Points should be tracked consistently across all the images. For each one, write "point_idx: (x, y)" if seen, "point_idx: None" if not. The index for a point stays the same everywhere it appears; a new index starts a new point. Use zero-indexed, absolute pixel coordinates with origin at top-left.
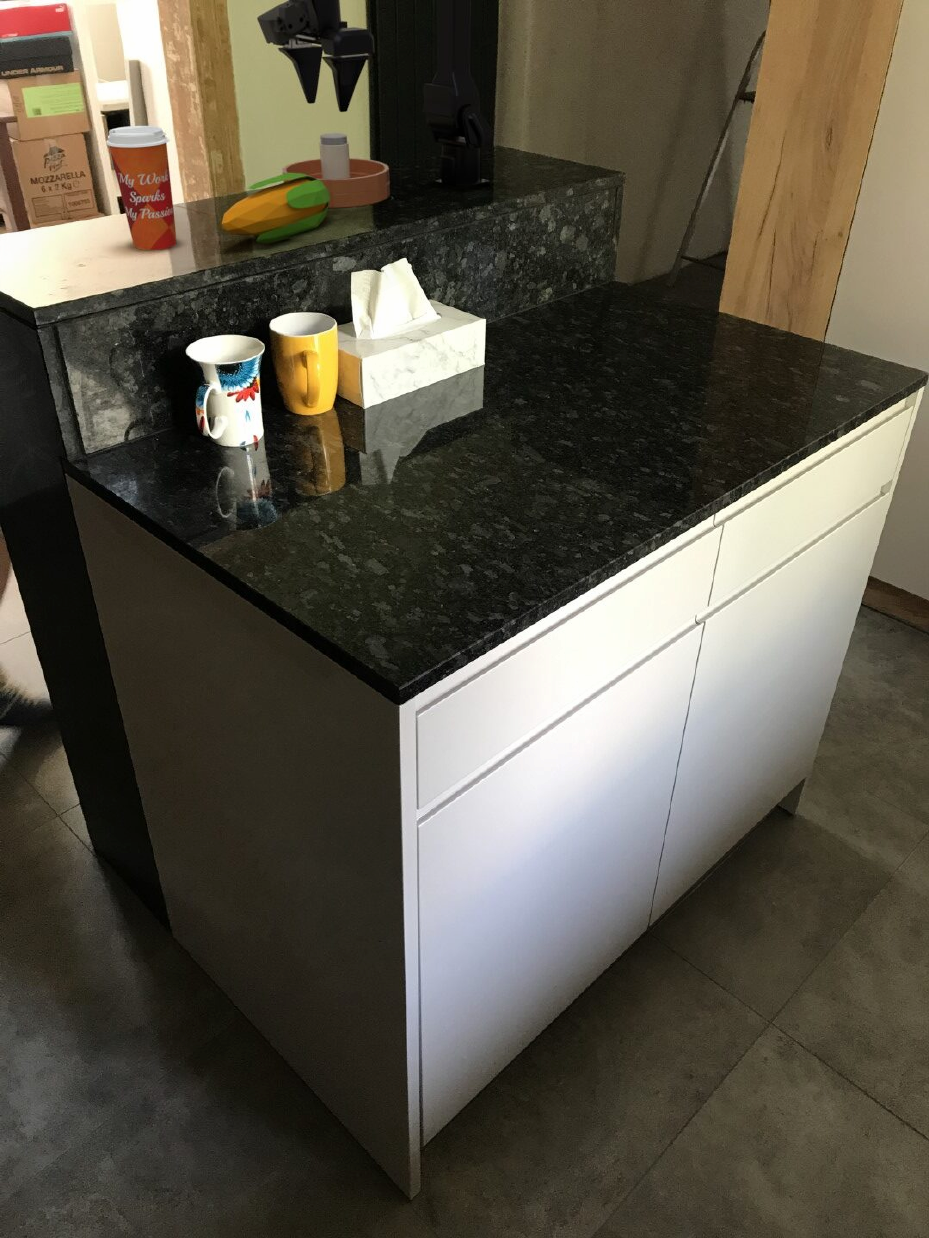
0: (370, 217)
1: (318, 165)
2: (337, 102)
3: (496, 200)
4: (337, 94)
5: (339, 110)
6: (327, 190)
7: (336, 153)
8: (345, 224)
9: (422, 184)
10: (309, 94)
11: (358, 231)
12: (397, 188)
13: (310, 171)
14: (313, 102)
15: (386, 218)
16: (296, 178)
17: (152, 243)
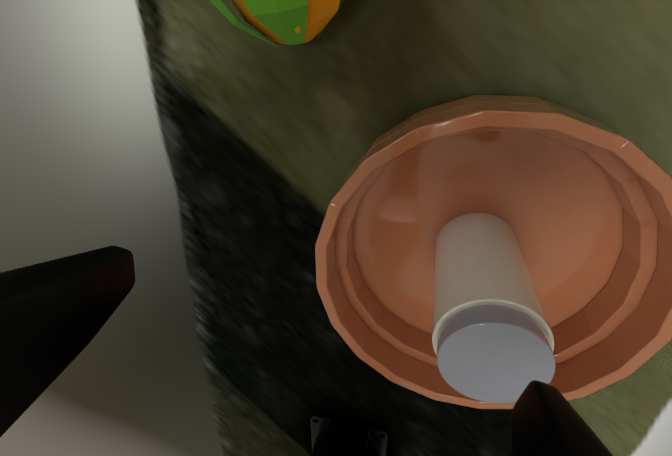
0: (273, 160)
1: (627, 342)
2: (84, 270)
3: (224, 382)
4: (1, 284)
5: (119, 250)
6: (223, 14)
7: (444, 297)
8: (258, 63)
9: (413, 423)
10: (542, 441)
11: (181, 35)
12: None
13: (641, 310)
14: (518, 406)
15: (242, 176)
16: (506, 110)
17: None
